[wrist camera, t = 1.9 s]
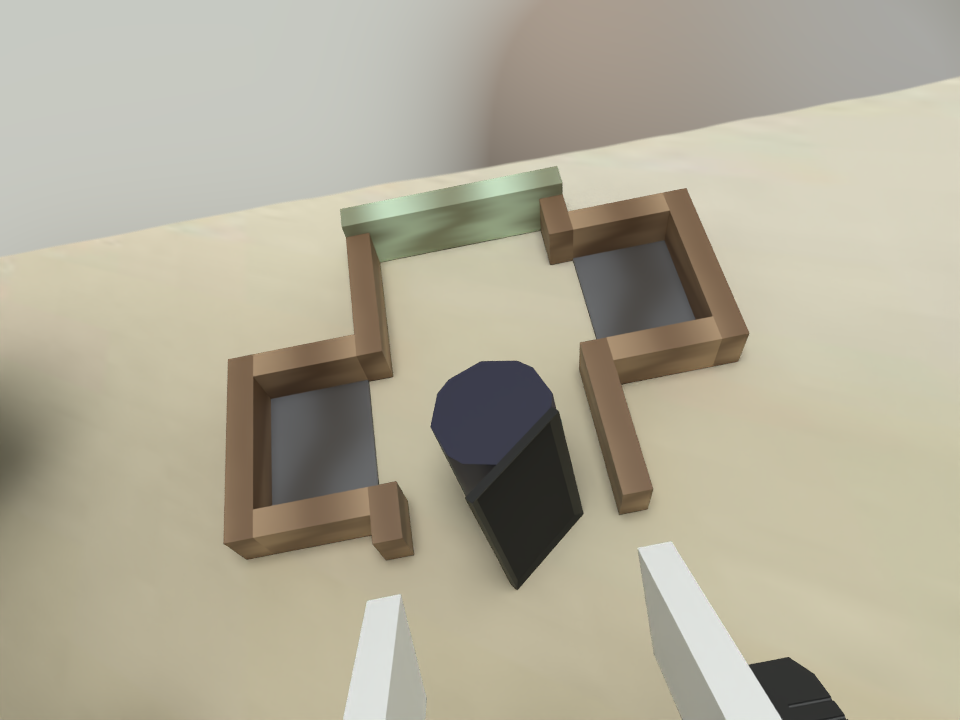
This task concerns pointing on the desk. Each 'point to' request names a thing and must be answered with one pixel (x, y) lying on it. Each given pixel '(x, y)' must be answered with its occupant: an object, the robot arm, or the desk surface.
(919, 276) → the desk surface
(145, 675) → the desk surface
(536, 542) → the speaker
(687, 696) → the robot arm
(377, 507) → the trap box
